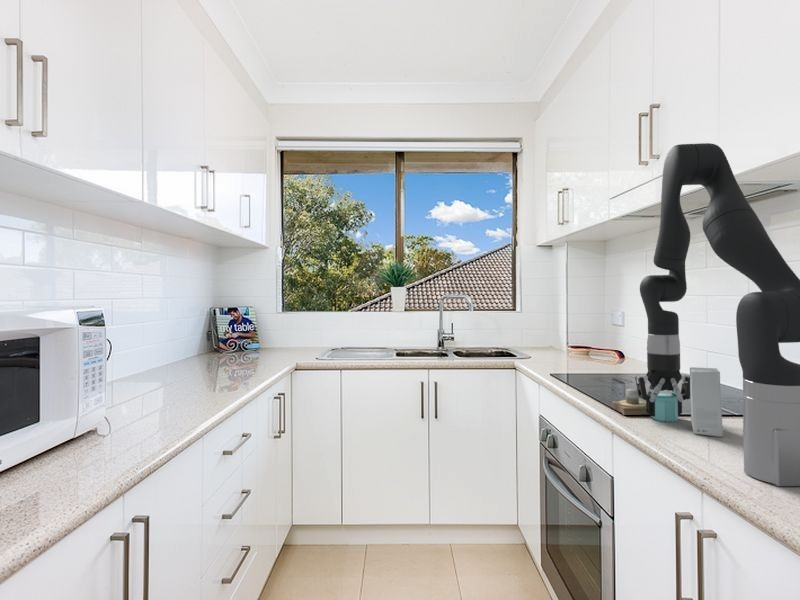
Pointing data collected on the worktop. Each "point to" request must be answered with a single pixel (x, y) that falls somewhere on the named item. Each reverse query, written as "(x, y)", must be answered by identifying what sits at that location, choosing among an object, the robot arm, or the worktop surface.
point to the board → (630, 404)
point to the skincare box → (706, 401)
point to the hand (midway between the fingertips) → (664, 415)
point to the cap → (666, 407)
